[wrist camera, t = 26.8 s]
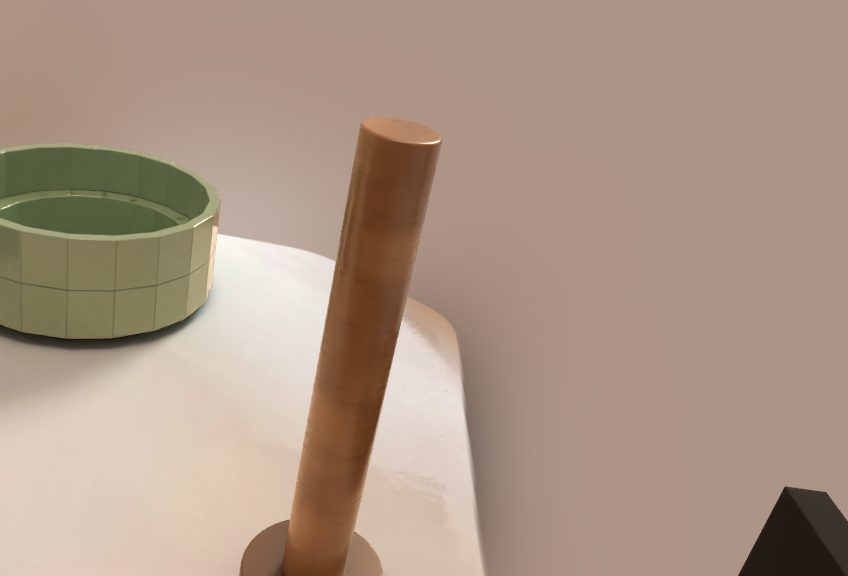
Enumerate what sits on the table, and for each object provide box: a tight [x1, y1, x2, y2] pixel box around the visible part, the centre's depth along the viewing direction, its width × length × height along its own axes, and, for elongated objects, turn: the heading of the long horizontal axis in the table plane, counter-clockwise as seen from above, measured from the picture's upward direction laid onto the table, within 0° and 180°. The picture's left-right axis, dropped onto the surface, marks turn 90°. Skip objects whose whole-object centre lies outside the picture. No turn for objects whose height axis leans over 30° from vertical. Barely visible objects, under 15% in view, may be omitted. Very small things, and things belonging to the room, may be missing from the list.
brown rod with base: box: [239, 117, 442, 576], centre depth 25 cm, size 5×5×18 cm
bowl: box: [0, 144, 220, 339], centre depth 43 cm, size 13×13×6 cm
